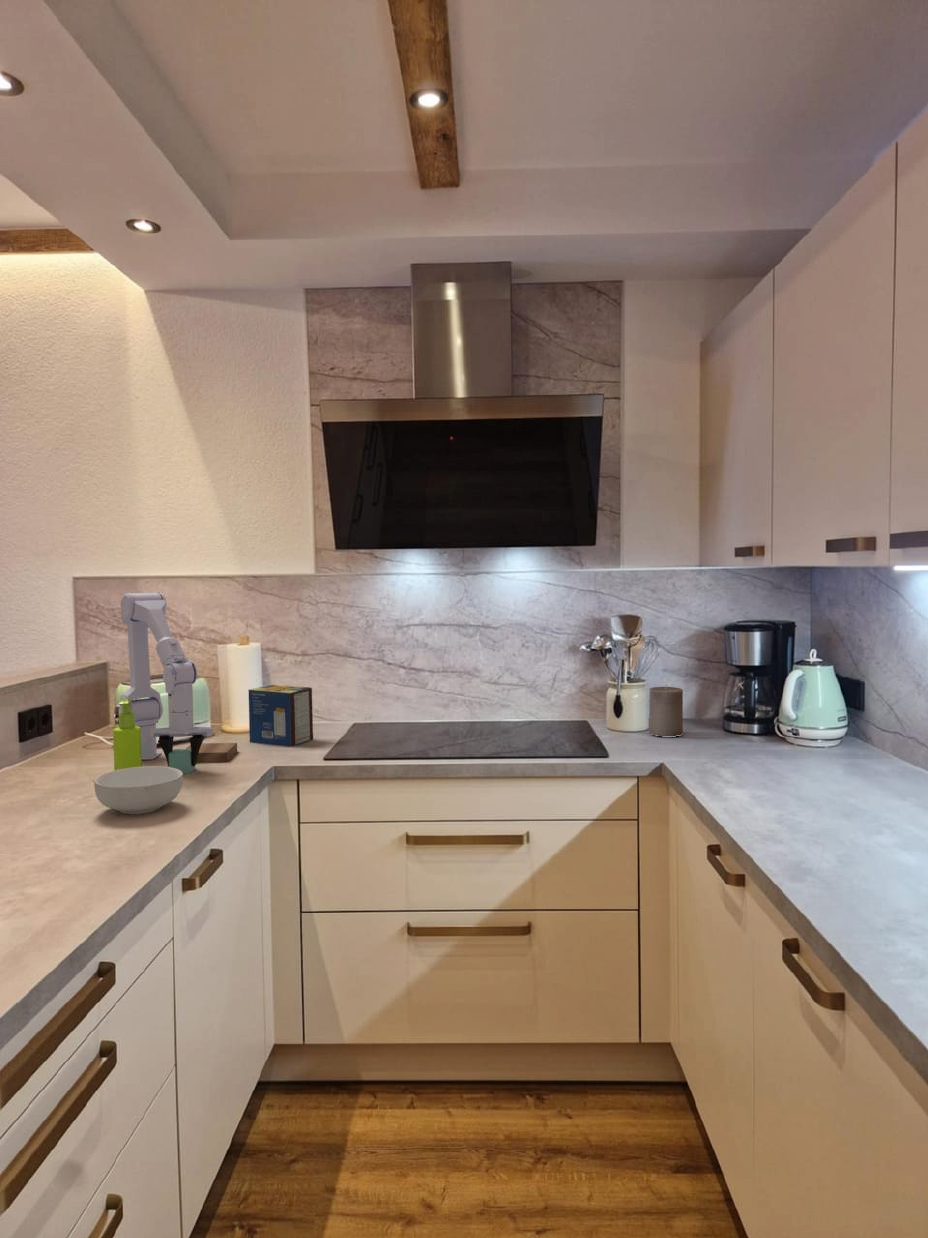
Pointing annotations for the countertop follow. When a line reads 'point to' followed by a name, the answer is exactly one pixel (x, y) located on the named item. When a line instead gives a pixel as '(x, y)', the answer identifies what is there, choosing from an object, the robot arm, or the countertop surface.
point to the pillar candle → (666, 711)
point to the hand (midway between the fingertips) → (182, 765)
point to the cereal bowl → (138, 788)
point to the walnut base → (216, 752)
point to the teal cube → (181, 760)
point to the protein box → (280, 715)
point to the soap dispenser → (127, 739)
